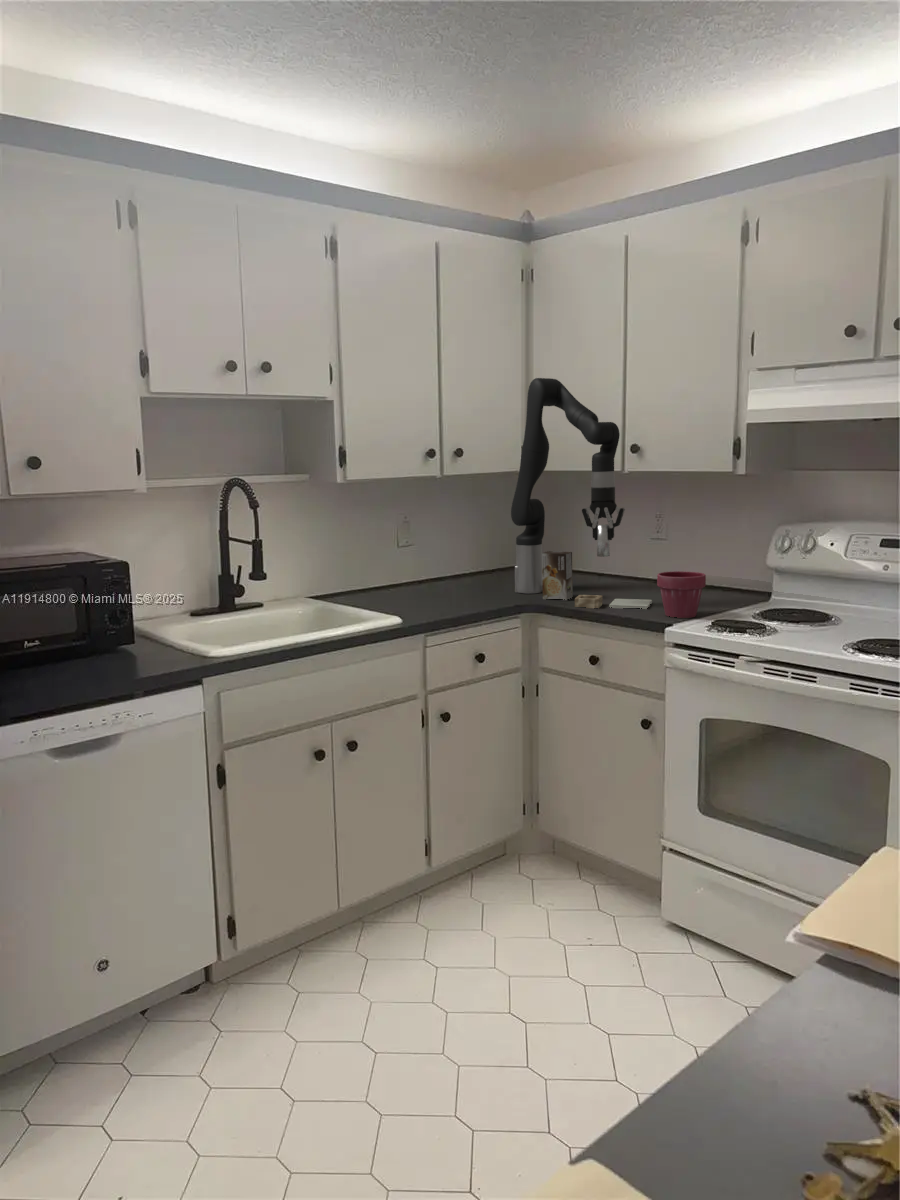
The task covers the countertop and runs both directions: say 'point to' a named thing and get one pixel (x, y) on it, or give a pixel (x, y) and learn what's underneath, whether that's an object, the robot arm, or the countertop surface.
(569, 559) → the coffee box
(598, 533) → the metal peg
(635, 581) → the countertop surface
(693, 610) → the plant pot
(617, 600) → the sage mat
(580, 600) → the wood collar
